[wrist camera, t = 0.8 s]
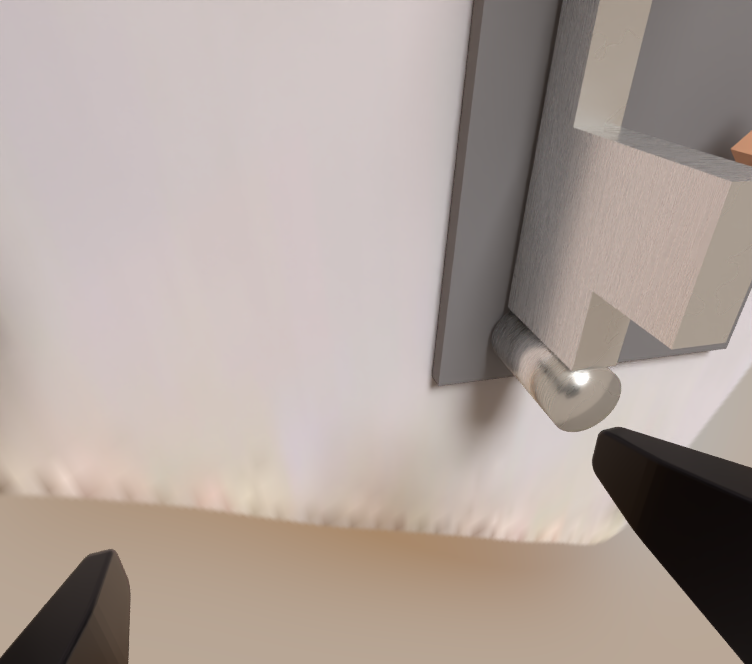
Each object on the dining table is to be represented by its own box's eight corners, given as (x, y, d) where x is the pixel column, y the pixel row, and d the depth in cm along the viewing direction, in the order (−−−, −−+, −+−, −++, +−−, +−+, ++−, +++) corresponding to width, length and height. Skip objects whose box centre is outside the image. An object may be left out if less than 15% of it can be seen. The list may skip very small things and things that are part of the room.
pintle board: (432, 375, 26) (472, 441, 22) (482, -78, 17) (563, -100, 13) (714, 340, 30) (790, 390, 26) (868, -43, 21) (1015, -52, 17)
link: (487, 363, 25) (601, 508, 18) (555, -37, 17) (798, -61, 10) (543, 356, 26) (674, 493, 19) (631, -31, 18) (907, -50, 11)
